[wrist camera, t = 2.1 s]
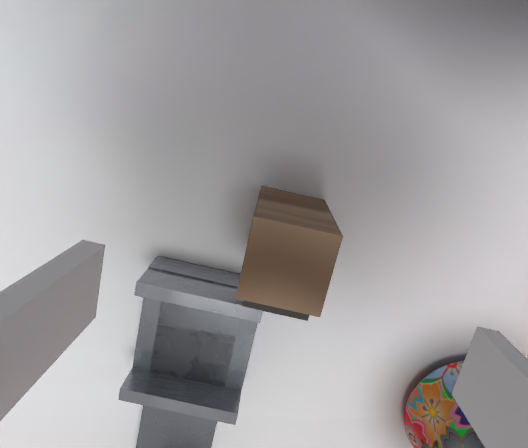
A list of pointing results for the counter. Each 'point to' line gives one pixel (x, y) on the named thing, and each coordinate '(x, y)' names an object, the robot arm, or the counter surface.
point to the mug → (438, 413)
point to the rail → (188, 353)
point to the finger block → (289, 255)
